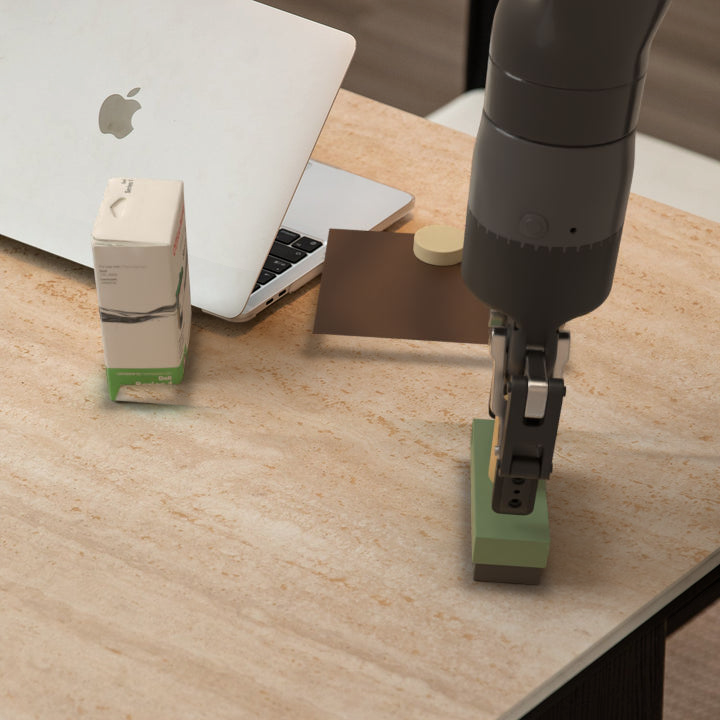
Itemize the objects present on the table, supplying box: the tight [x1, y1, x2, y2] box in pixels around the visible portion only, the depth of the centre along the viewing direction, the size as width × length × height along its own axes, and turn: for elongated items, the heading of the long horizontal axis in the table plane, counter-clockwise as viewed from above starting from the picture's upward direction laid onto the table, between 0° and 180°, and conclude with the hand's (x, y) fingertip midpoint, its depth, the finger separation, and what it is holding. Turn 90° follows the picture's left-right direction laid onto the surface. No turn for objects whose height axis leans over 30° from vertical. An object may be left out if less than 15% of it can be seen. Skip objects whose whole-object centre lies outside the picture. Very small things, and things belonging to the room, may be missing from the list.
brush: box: [469, 395, 552, 586], centre depth 69 cm, size 10×4×8 cm, turn 177°
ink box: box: [90, 176, 193, 402], centre depth 79 cm, size 9×5×12 cm, turn 1°
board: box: [312, 227, 489, 346], centre depth 89 cm, size 17×14×2 cm
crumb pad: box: [413, 224, 465, 266], centre depth 92 cm, size 4×4×1 cm
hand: (508, 460), depth 69 cm, fingers open, 7 cm apart
